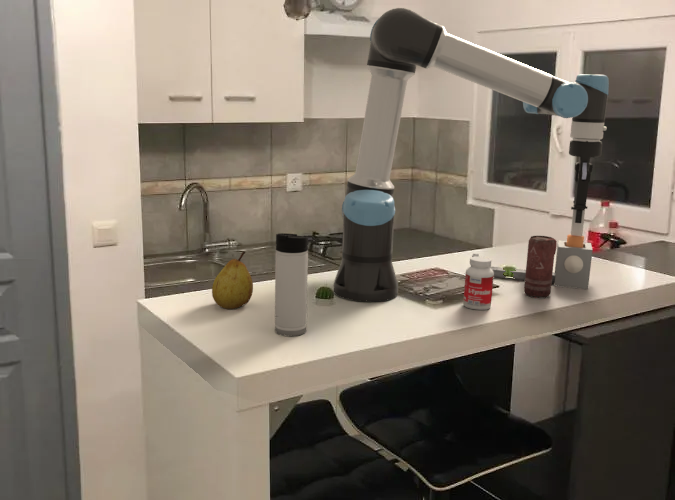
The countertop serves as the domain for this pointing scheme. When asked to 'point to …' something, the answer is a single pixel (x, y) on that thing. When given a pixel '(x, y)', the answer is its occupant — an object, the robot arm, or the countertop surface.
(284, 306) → the travel mug
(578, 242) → the plunger
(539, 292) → the can
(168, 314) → the countertop surface
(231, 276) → the fruit
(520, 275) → the rail
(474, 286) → the pill bottle
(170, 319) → the countertop surface
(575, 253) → the grey box
